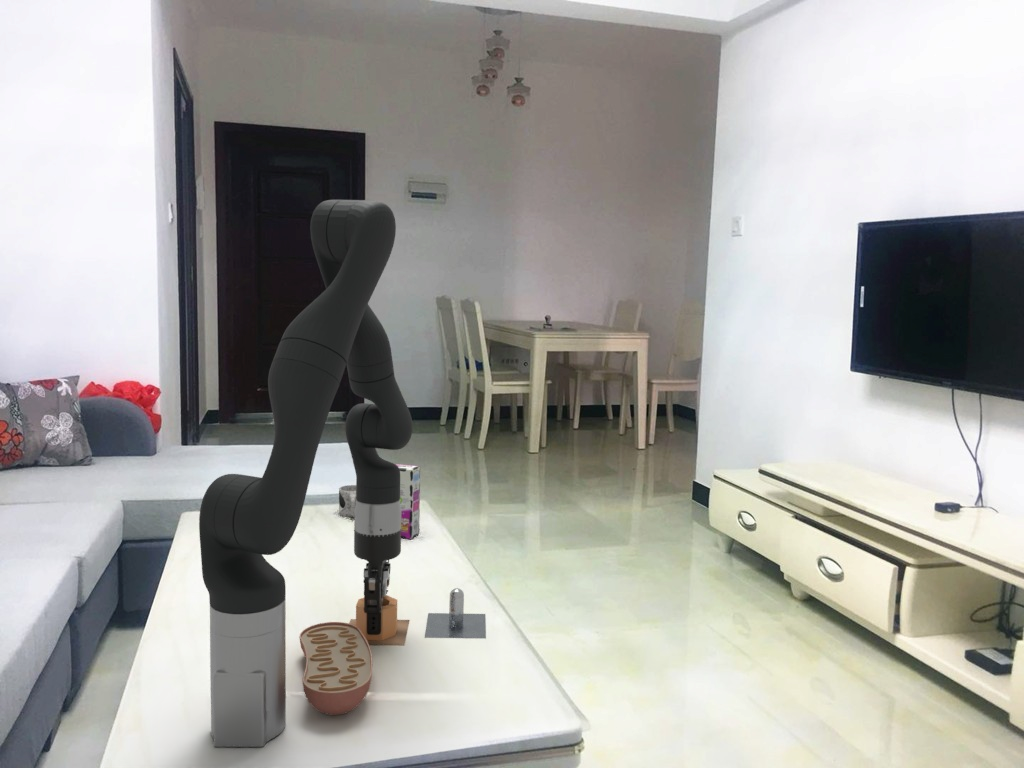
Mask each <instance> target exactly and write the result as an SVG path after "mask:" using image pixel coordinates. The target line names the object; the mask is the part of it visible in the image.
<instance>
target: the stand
mask: <svg viewBox="0 0 1024 768" xmlns="http://www.w3.org/2000/svg"><path fill="white" fill-rule="evenodd" d="M371 605H377V601H376V600H371ZM382 607H383V600H382ZM410 621H411V620H410V619H397V630H396V635H395V636H392V637H390V638H387V639H384V640H367V642H368V644H369V646H399V647H400V646H401V647H402V646H405V645H406V640H407V639H406V638H407V634H408V630H409V624H410ZM349 624H352V625H355V626H356V618H350V620H349Z"/></svg>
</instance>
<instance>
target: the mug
mask: <svg viewBox="0 0 1024 768" xmlns="http://www.w3.org/2000/svg"><path fill="white" fill-rule="evenodd" d="M355 507H356V484H351V485H349V484H348V485H343V486H340V487H339V488H338V515H339V516H341V517H344V518H354V515H355Z"/></svg>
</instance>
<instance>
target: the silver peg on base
mask: <svg viewBox="0 0 1024 768" xmlns="http://www.w3.org/2000/svg"><path fill="white" fill-rule="evenodd" d="M464 603H465V594H464V590H462V589H461V588H458V587H457V588H453V589H451V591H450V593H449V606H448V607H449V611H448V613H447V612H445V613H444V612H443V613H440V612H433V613H432V612H428V614H427V618H426V619H427V620H426V625H425V632H424V639H426V638H427V639H428V638H429V639H487V625H486V623H487V622H486V620H487V619H486V618H487V617H486V613H464V609H465V608H464V607H465V604H464Z"/></svg>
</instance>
